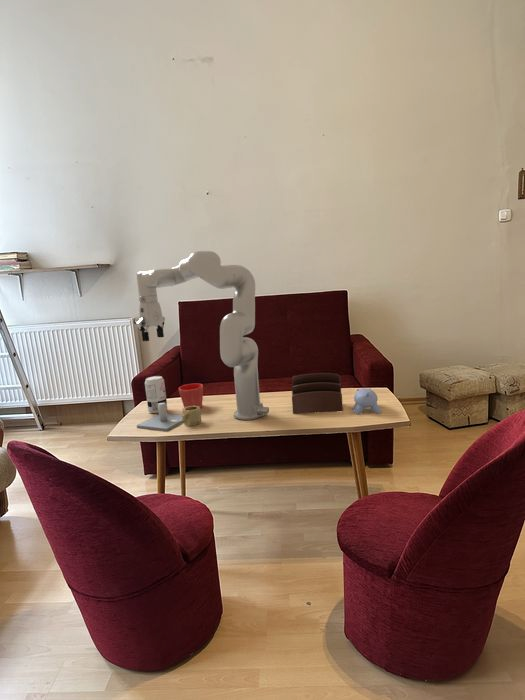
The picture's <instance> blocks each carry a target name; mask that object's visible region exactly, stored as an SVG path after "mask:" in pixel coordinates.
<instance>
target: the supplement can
mask: <svg viewBox="0 0 525 700" xmlns="http://www.w3.org/2000/svg"><path fill="white" fill-rule="evenodd" d="M165 385H166V384H165V379H164V377H163V376H162V375H161V376H160V375H154V376H149V377H146V378H145V381H144V387H145V388H144V389H145V395H146V402H147V412H149V413H150V414H152V413H158V414H159V410H158V404H159V403H166V411H167V409H168V401H167V393H166V386H165Z"/></svg>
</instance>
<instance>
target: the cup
mask: <svg viewBox="0 0 525 700" xmlns="http://www.w3.org/2000/svg"><path fill="white" fill-rule="evenodd" d="M181 415H182V420H184V422H183V425H184V426H185V425H188V426H187V427H193V425H194V426H198V425H200V424H202V423H203V421H202V414H201V408H200V407H199V406H188V407H185V408H184V407H183V408H182V414H181ZM201 422H202V423H201ZM199 423H200V424H199Z"/></svg>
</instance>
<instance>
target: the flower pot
mask: <svg viewBox="0 0 525 700" xmlns="http://www.w3.org/2000/svg"><path fill="white" fill-rule="evenodd" d="M178 392H179V395H180V399H181V401H182V404H183V408H185V407H188V406H199V407H200V409H201V408H202V407H203V401H204V400H203V398H204V397H203V395H204V394H203V393H204V385H203V384H202V383H187V384H183V385H181V386H179V387H178Z"/></svg>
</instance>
